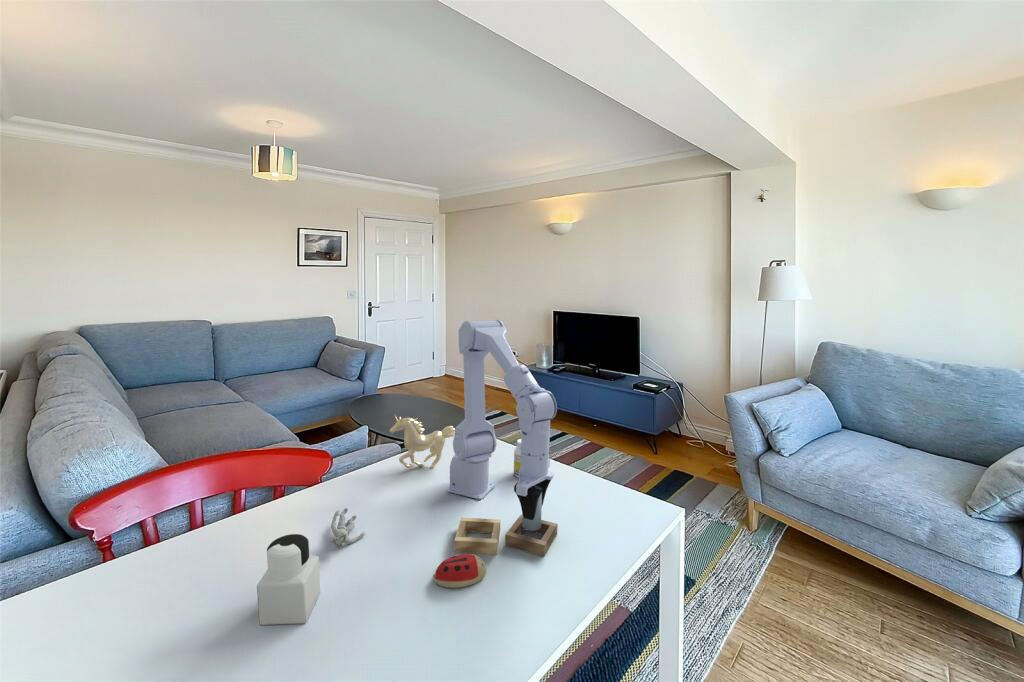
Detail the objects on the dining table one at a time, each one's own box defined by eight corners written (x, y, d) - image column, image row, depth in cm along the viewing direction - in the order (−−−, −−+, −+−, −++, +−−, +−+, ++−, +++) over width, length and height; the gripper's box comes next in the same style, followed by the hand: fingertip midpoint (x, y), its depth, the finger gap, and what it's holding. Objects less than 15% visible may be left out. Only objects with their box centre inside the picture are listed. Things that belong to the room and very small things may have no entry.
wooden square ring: (504, 545, 93) (505, 534, 93) (520, 525, 101) (520, 514, 101) (544, 556, 90) (544, 545, 90) (557, 534, 98) (557, 523, 97)
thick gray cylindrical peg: (518, 527, 94) (519, 491, 93) (527, 518, 98) (528, 483, 97) (535, 532, 92) (536, 496, 91) (544, 523, 96) (545, 488, 95)
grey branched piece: (367, 524, 101) (368, 537, 90) (350, 543, 100) (350, 559, 89) (340, 502, 100) (338, 512, 89) (323, 520, 99) (319, 533, 88)
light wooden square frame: (454, 551, 91) (454, 540, 90) (461, 528, 99) (461, 517, 99) (496, 554, 90) (497, 542, 90) (500, 530, 99) (500, 519, 98)
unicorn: (455, 457, 136) (455, 402, 133) (460, 463, 132) (461, 406, 130) (388, 471, 126) (387, 411, 123) (392, 477, 122) (391, 416, 119)
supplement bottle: (533, 471, 128) (534, 437, 127) (532, 479, 123) (533, 445, 122) (514, 469, 129) (515, 436, 127) (512, 478, 124) (513, 443, 122)
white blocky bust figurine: (278, 594, 78) (274, 529, 76) (321, 592, 79) (318, 528, 77) (258, 626, 71) (254, 555, 69) (306, 624, 72) (302, 554, 70)
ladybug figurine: (491, 582, 83) (491, 564, 82) (438, 596, 79) (438, 578, 78) (479, 560, 89) (479, 544, 88) (429, 573, 85) (429, 555, 84)
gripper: (541, 468, 84) (539, 535, 86) (564, 442, 97) (561, 501, 100) (506, 461, 87) (505, 526, 89) (533, 436, 100) (531, 494, 102)
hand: (532, 513), depth 95 cm, fingers closed on thick gray cylindrical peg, 4 cm apart
